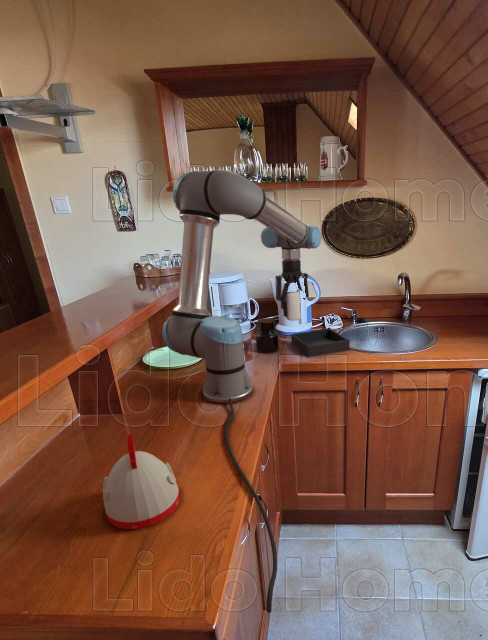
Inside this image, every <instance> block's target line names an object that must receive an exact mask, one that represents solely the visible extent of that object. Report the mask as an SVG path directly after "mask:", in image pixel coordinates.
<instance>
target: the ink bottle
mask: <svg viewBox="0 0 488 640" xmlns="http://www.w3.org/2000/svg"><path fill="white" fill-rule="evenodd" d="M256 324H257V332H256V333H255V346H256V347H255V348H256V351H257V352H259V353H263V354H270V353H274V352H275V353H276V352H278V350H279V349H280V342H279V341H280V340H279V332H277V331H276V320H275V318H271V317H264V318H259V319H258V320H256Z"/></svg>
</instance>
